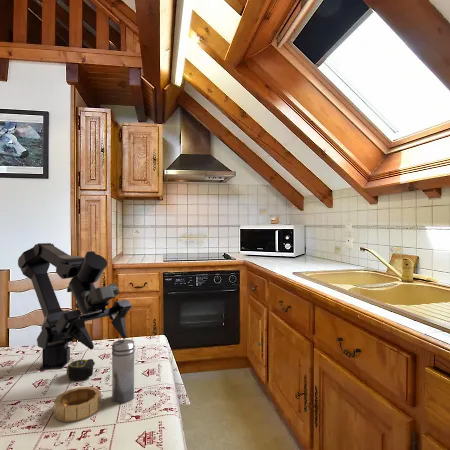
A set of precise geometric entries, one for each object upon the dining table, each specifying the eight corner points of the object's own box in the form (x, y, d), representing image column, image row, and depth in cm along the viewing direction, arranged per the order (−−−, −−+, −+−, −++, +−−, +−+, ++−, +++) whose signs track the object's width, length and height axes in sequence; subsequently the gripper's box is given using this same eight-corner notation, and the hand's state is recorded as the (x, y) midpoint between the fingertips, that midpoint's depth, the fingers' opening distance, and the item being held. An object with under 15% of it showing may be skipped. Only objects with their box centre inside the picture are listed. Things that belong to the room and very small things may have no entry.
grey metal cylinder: (109, 404, 72) (109, 347, 73) (114, 393, 77) (114, 339, 78) (132, 402, 73) (132, 346, 73) (135, 391, 78) (136, 338, 79)
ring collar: (46, 424, 65) (47, 409, 65) (63, 400, 74) (64, 388, 74) (93, 420, 66) (93, 406, 66) (104, 397, 75) (104, 385, 75)
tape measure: (92, 380, 85) (92, 366, 85) (64, 384, 83) (64, 369, 83) (94, 370, 91) (95, 357, 92) (68, 373, 89) (69, 359, 89)
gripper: (62, 278, 75) (87, 333, 68) (127, 271, 90) (153, 315, 83) (46, 307, 80) (68, 362, 73) (111, 296, 95) (134, 340, 88)
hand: (109, 342), depth 79 cm, fingers open, 9 cm apart
